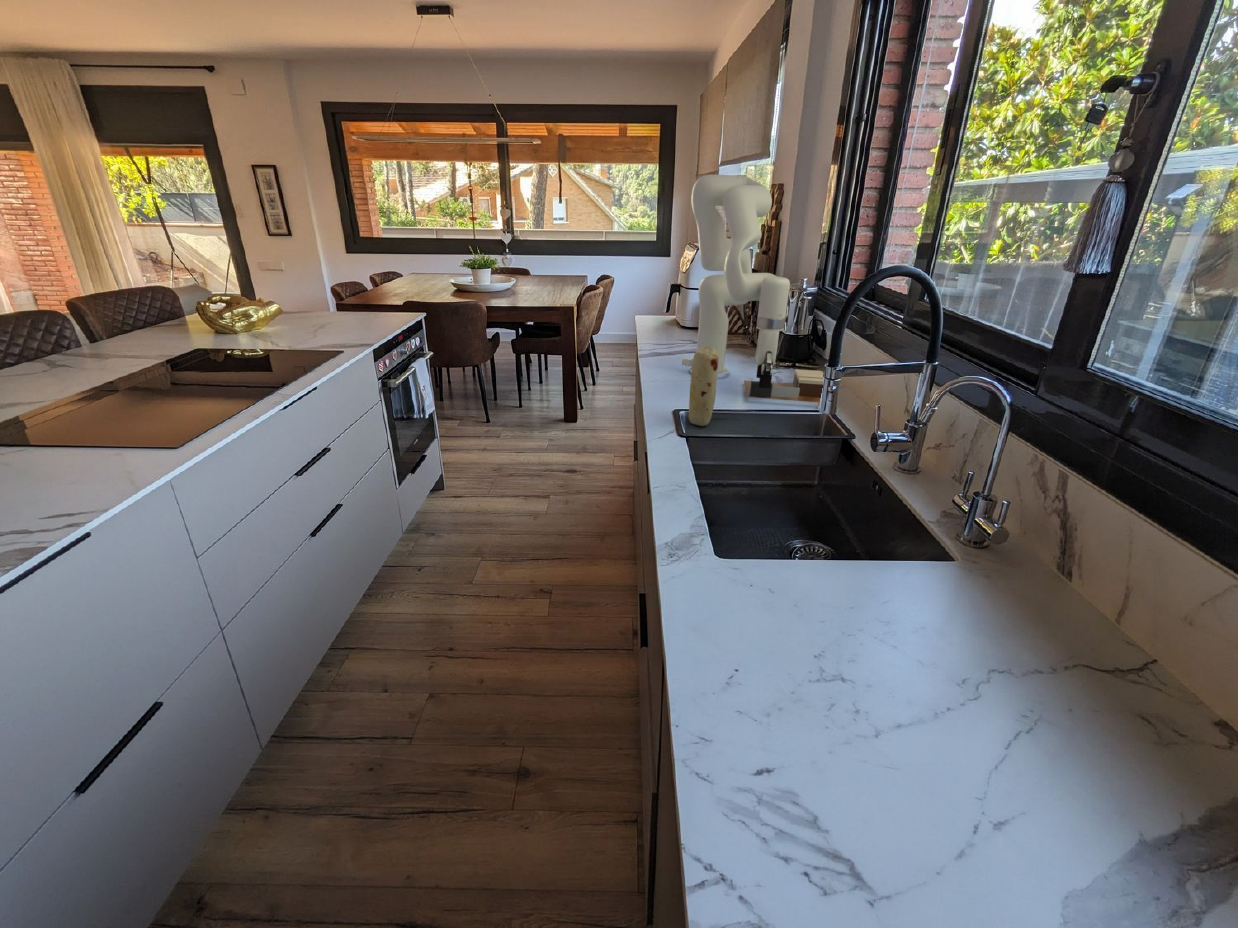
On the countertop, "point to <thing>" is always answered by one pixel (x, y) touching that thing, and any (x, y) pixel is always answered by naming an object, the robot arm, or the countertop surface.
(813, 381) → the cake slice
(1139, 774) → the countertop surface
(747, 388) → the cutting board
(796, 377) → the cake
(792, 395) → the knife
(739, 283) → the robot arm
